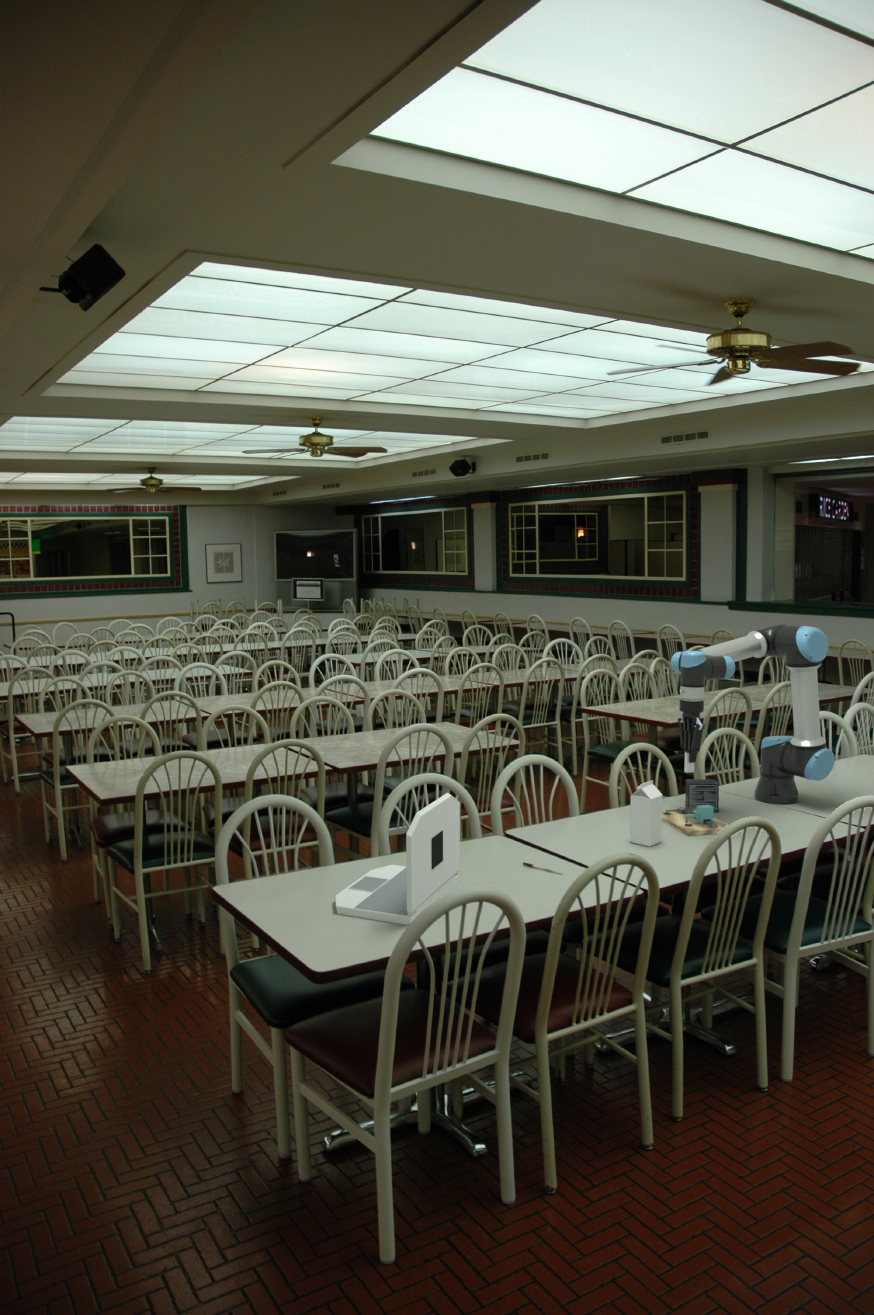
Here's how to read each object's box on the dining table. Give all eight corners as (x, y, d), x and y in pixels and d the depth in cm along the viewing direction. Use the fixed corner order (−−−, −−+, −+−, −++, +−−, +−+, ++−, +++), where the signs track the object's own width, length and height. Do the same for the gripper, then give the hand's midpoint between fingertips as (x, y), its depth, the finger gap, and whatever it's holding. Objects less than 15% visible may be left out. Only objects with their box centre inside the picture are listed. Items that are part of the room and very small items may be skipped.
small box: (715, 808, 326) (716, 778, 325) (719, 813, 320) (719, 783, 319) (684, 807, 327) (685, 778, 326) (687, 812, 321) (688, 782, 320)
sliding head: (708, 820, 305) (708, 804, 304) (713, 822, 302) (713, 807, 302) (683, 822, 303) (683, 806, 302) (687, 825, 300) (688, 809, 299)
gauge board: (697, 813, 319) (697, 809, 319) (733, 832, 298) (733, 827, 297) (655, 817, 315) (655, 812, 315) (688, 836, 294) (688, 831, 293)
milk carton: (661, 842, 288) (662, 782, 286) (649, 847, 283) (651, 786, 281) (641, 837, 293) (642, 778, 291) (629, 842, 287) (630, 782, 285)
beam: (688, 810, 317) (688, 806, 317) (721, 827, 298) (721, 823, 297) (663, 812, 315) (664, 808, 315) (695, 830, 295) (695, 825, 295)
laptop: (380, 871, 263) (379, 779, 261) (460, 881, 254) (460, 787, 252) (323, 913, 233) (321, 810, 230) (411, 927, 224) (411, 820, 221)
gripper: (671, 696, 302) (668, 768, 304) (691, 702, 289) (689, 777, 291) (692, 696, 303) (689, 767, 306) (713, 702, 291) (710, 775, 293)
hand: (689, 771), depth 299 cm, fingers closed
